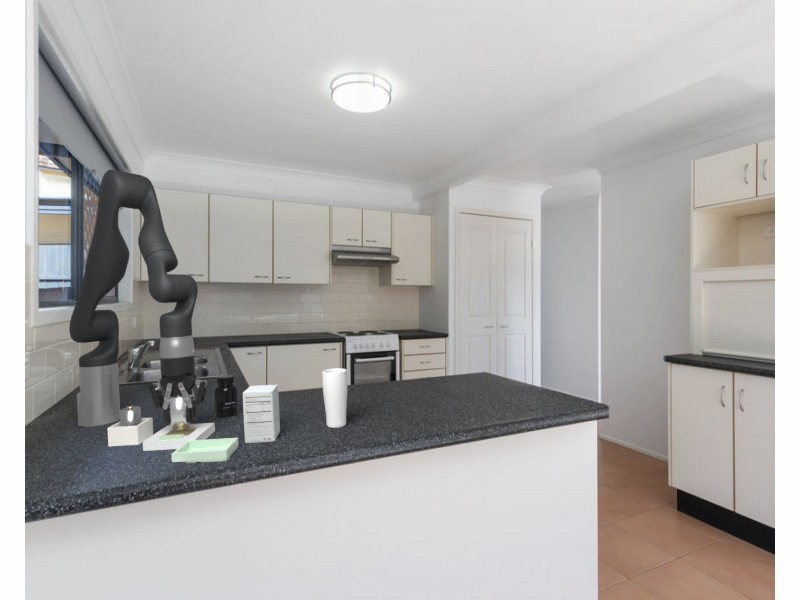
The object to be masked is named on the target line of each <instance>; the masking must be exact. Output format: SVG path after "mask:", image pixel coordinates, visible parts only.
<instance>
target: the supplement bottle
mask: <svg viewBox="0 0 800 600" xmlns="http://www.w3.org/2000/svg"><path fill="white" fill-rule="evenodd" d="M235 381H236V380H235V375H233V374H226V375H225V374H224V375H219V376H217V377H216V384H217V385H216V386H215V387H214V388H213V417H214V418H217V419H225V418H226V419H227V418H231V417H234V418H235V417H237V416H238V415H239V413H240V412H239V407H240V406H239V386H238V385H237V384H236V383H235Z"/></svg>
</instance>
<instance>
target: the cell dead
mask: <svg viewBox="0 0 800 600" xmlns="http://www.w3.org/2000/svg"><path fill="white" fill-rule="evenodd" d="M141 409H142V408H141V406H139V405H137V406H135V405H128V406H126V407H123V408H120V419H119V422H120V427H121V426H137V425H138V424H140V423H141V418H142V413H141Z"/></svg>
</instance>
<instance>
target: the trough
mask: <svg viewBox="0 0 800 600" xmlns="http://www.w3.org/2000/svg"><path fill="white" fill-rule="evenodd" d="M239 447H240V446H239V437H228V438H227V437H225V438H209V439H208V438H206V439H205V440H188V441H187V442H185V443H184V444H183V445H182V446H180V447H179V448H178V449H175V450H174V451H173V452H172V453H171V462H172V463H178V462H179V463H180V462H181V463H182V462H183V463H185V464H197V463H196V462H201V463H214V462H215V463H216V462H227V461H229V459H230V458H231V457H232V455H233V454H234V453H235V452H236V451H237V449H238V448H239Z"/></svg>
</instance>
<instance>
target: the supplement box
mask: <svg viewBox="0 0 800 600" xmlns="http://www.w3.org/2000/svg"><path fill="white" fill-rule="evenodd" d="M242 408H243V409H242V411H243V427H244V428H243V429H244V431H243V432H244V443H245V444H252V443H253V444H254V443H256V444H257V443H268V442H275V441H276V440H277V438H278V435H279V434H280V432H281V420H280V419H281V418H280V403H279V384H262V385H261V384H260V385H249V386H248V387H247V388H246V389H245V390H244V391H243V392H242Z"/></svg>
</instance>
